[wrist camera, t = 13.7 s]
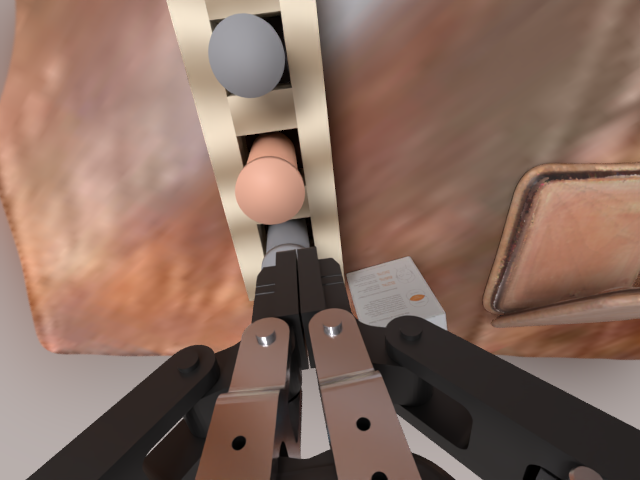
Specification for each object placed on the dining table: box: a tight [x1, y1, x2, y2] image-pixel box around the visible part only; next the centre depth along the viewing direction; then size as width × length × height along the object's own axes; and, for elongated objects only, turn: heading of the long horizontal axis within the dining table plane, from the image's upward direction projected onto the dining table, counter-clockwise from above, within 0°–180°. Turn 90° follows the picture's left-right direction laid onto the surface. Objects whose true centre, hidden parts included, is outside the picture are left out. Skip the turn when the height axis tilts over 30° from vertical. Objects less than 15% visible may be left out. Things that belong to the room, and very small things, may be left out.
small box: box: [346, 256, 447, 330], centre depth 39 cm, size 8×6×10 cm
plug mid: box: [235, 131, 305, 225], centre depth 28 cm, size 5×5×10 cm
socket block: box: [166, 0, 345, 301], centre depth 32 cm, size 28×10×5 cm, turn 7°
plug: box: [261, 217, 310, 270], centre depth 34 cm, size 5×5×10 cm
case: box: [483, 163, 640, 328], centre depth 37 cm, size 20×21×16 cm
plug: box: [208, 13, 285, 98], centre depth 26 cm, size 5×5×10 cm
